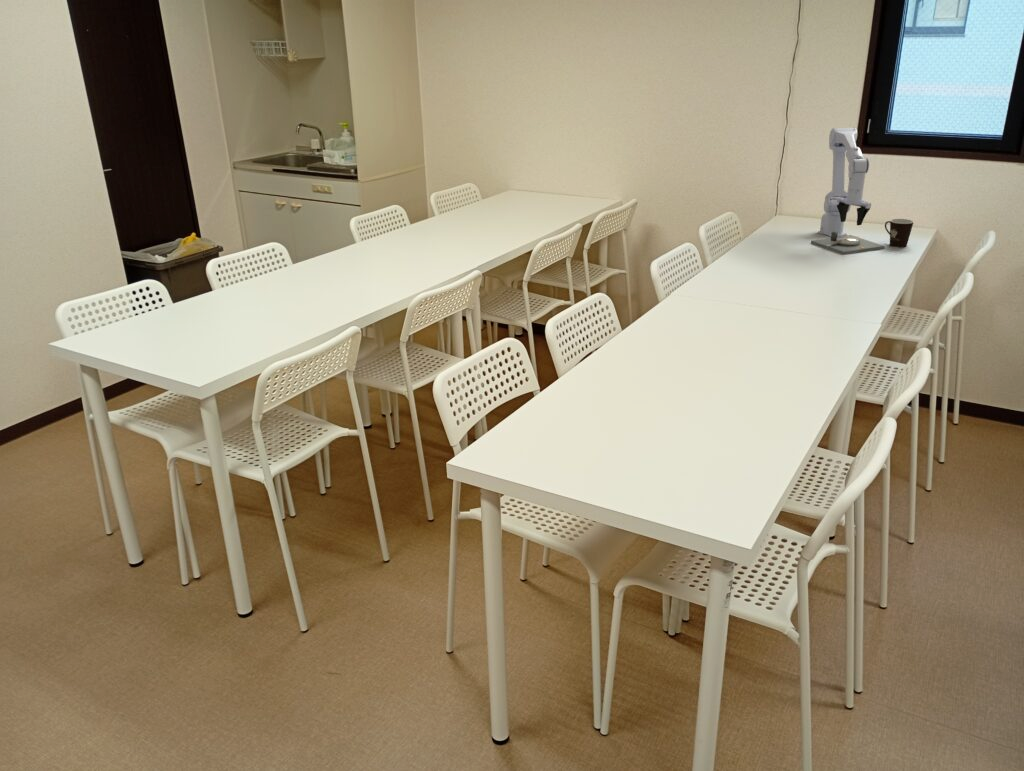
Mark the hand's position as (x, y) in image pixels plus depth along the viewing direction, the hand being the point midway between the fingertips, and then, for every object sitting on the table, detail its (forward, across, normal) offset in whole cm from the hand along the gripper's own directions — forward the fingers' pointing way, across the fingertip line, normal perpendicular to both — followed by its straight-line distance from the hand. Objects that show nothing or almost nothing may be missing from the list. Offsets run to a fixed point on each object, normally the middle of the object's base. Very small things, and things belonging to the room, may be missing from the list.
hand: (850, 223), depth 336 cm
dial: (+8, -1, -1) cm, 8 cm away
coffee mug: (+10, +10, +17) cm, 22 cm away
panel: (+10, -1, 0) cm, 10 cm away
